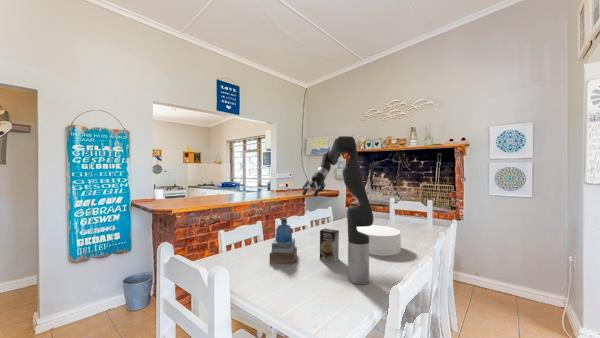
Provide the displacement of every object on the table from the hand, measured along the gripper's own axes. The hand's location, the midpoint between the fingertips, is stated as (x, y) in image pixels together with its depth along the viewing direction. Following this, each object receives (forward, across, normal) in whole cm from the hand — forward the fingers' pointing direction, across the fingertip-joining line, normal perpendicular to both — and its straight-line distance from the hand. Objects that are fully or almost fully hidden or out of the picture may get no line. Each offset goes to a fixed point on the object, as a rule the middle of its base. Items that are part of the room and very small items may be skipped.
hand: (308, 195), depth 150 cm
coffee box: (+26, +16, +23) cm, 38 cm away
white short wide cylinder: (0, +27, +49) cm, 56 cm away
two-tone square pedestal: (+36, -3, +12) cm, 38 cm away
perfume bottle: (+30, -3, +5) cm, 30 cm away
